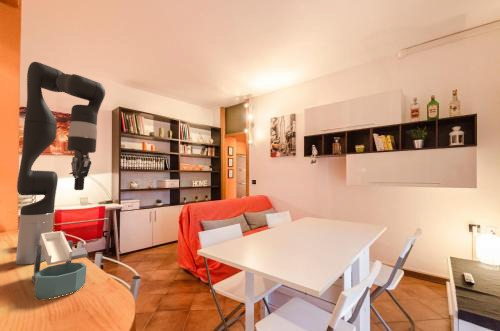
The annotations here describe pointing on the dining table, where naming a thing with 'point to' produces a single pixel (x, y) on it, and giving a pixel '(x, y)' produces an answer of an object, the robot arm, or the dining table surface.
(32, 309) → the dining table surface
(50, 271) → the teal octagonal bowl
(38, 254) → the lever stand
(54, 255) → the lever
